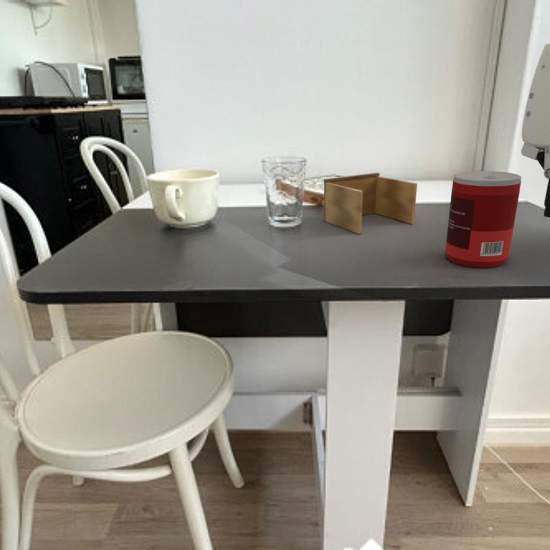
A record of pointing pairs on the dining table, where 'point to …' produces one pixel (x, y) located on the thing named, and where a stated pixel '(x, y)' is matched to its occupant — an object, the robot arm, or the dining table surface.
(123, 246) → the dining table surface
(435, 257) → the dining table surface
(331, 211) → the brown u-shaped panel piece
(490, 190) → the canned food
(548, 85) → the robot arm
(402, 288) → the dining table surface
